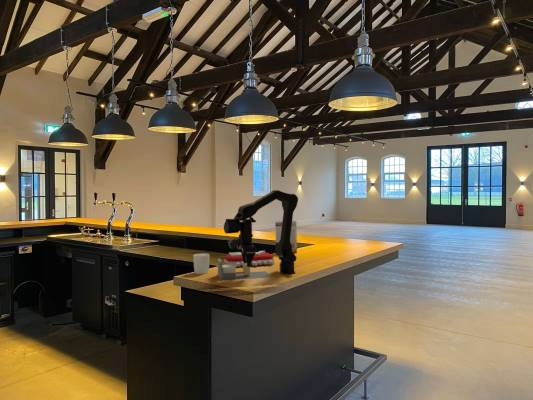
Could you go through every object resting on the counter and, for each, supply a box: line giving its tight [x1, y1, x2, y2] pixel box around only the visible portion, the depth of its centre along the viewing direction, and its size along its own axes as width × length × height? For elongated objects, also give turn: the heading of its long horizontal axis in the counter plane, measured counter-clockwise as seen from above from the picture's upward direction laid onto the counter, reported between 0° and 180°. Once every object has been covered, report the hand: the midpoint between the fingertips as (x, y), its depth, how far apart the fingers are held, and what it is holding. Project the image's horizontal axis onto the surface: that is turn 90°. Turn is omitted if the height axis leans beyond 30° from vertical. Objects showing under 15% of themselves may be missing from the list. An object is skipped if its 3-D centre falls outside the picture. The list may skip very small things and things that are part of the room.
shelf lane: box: [217, 258, 273, 281], centre depth 188 cm, size 24×14×9 cm, turn 104°
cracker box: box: [274, 220, 298, 254], centre depth 266 cm, size 14×6×21 cm, turn 84°
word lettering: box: [223, 250, 275, 269], centre depth 224 cm, size 27×7×30 cm
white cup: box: [192, 253, 210, 275], centre depth 198 cm, size 8×8×10 cm
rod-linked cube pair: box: [222, 263, 251, 275], centre depth 188 cm, size 13×6×6 cm, turn 104°
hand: (246, 265), depth 189 cm, fingers open, 9 cm apart
